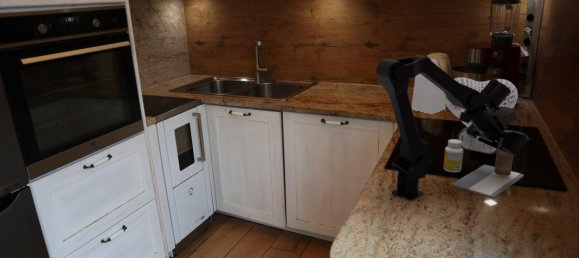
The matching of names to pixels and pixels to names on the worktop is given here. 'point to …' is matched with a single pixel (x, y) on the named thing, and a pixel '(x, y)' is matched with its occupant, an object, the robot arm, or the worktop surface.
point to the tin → (474, 143)
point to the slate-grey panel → (487, 181)
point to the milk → (427, 95)
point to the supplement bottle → (453, 156)
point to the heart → (509, 84)
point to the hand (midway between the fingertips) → (508, 152)
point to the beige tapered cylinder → (503, 161)
